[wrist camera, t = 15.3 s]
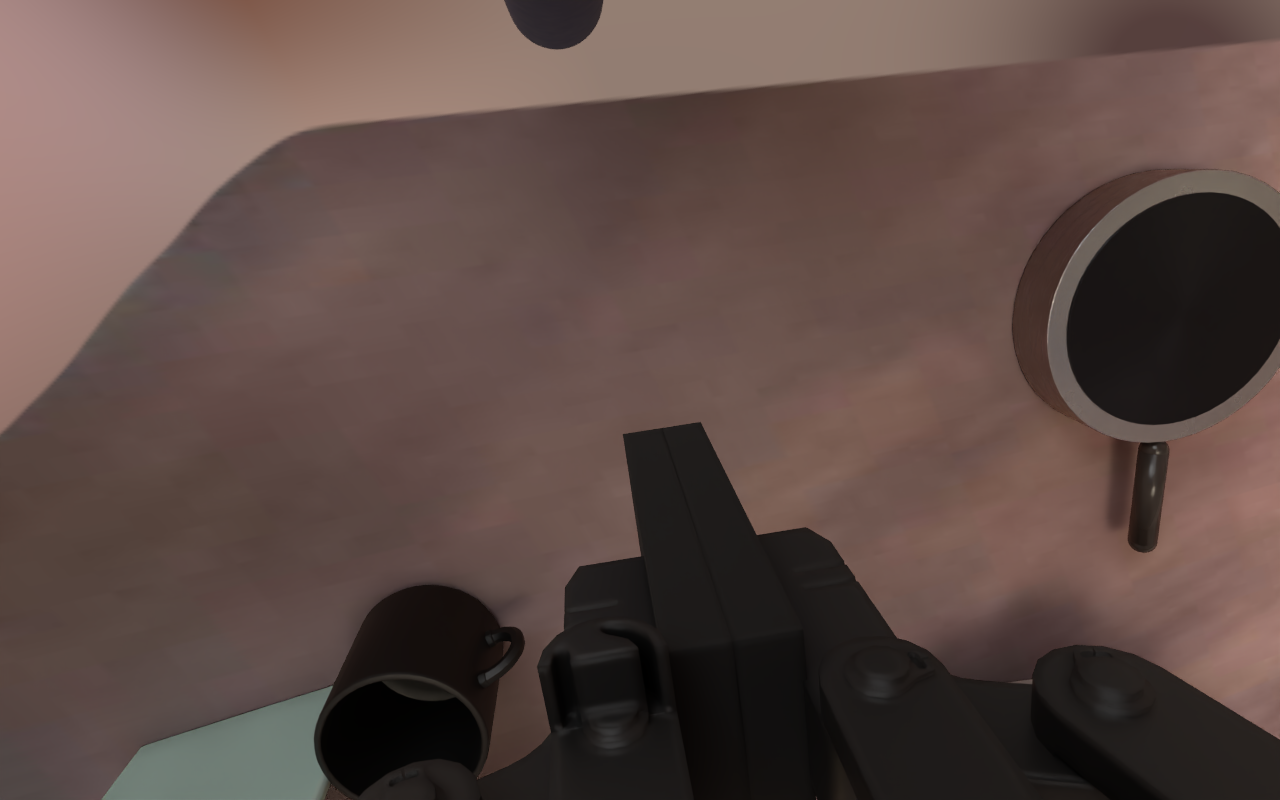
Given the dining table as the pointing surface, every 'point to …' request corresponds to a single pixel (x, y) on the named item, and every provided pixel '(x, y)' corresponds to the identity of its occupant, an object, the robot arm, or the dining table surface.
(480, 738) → the mug
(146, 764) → the green magazine holder
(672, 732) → the robot arm
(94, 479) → the dining table surface
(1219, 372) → the pan
